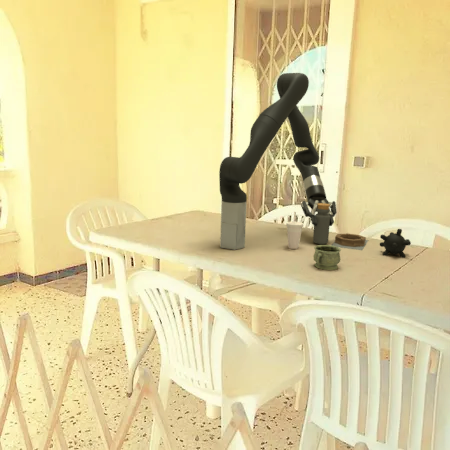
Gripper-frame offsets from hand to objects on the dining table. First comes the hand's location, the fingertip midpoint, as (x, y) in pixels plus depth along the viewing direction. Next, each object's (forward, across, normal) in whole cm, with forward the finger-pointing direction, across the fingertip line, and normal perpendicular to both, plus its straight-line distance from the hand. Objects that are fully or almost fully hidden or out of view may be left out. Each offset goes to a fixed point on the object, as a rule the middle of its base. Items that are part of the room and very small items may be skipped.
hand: (323, 224), depth 181 cm
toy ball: (+17, +21, -6) cm, 28 cm away
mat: (+5, +12, +7) cm, 15 cm away
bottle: (+4, 0, +6) cm, 8 cm away
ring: (+4, +12, +7) cm, 15 cm away
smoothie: (+8, -13, +4) cm, 15 cm away
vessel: (+24, -9, -12) cm, 29 cm away
